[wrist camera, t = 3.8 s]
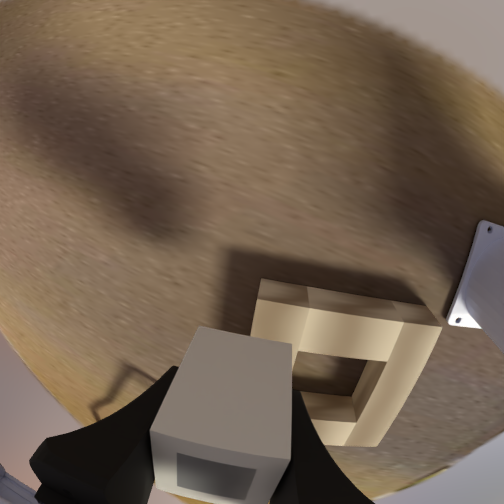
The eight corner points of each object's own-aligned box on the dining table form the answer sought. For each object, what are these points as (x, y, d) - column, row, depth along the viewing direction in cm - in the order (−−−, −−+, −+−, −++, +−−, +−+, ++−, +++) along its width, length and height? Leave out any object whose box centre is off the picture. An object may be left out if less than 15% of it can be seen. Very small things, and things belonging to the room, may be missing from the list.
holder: (426, 305, 20) (442, 327, 17) (370, 421, 24) (376, 446, 21) (261, 278, 21) (257, 298, 18) (236, 406, 25) (231, 432, 22)
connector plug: (291, 343, 13) (290, 459, 7) (273, 407, 14) (263, 511, 9) (198, 325, 13) (149, 429, 8) (193, 391, 15) (156, 488, 9)
